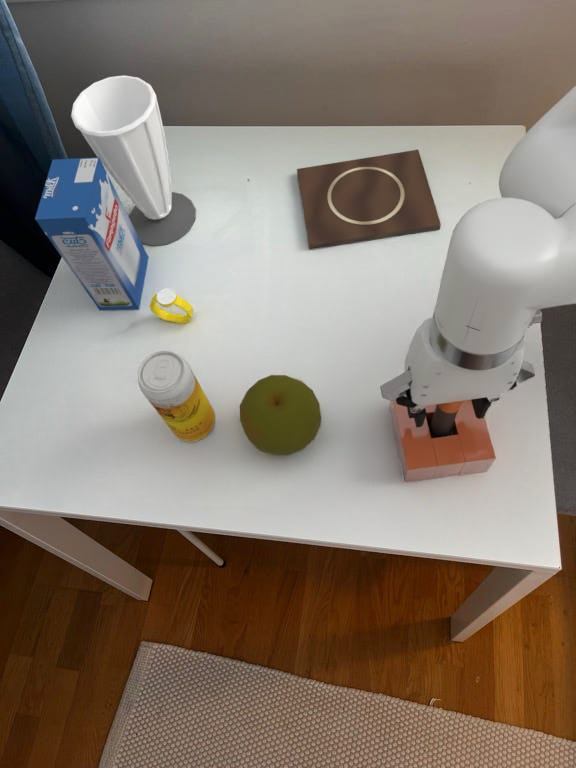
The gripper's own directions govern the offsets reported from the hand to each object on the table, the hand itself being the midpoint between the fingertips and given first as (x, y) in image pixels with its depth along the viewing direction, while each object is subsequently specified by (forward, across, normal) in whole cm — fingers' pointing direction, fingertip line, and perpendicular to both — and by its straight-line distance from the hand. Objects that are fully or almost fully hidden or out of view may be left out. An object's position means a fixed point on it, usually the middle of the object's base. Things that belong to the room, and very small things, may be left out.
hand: (446, 410), depth 65 cm
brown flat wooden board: (+9, +2, -41) cm, 42 cm away
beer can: (+9, +31, -7) cm, 33 cm away
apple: (+9, +19, -4) cm, 21 cm away
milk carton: (+9, +41, -32) cm, 53 cm away
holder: (+9, 0, 0) cm, 9 cm away
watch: (+9, +33, -24) cm, 42 cm away
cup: (+9, +35, -44) cm, 57 cm away
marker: (+9, 0, 0) cm, 9 cm away
